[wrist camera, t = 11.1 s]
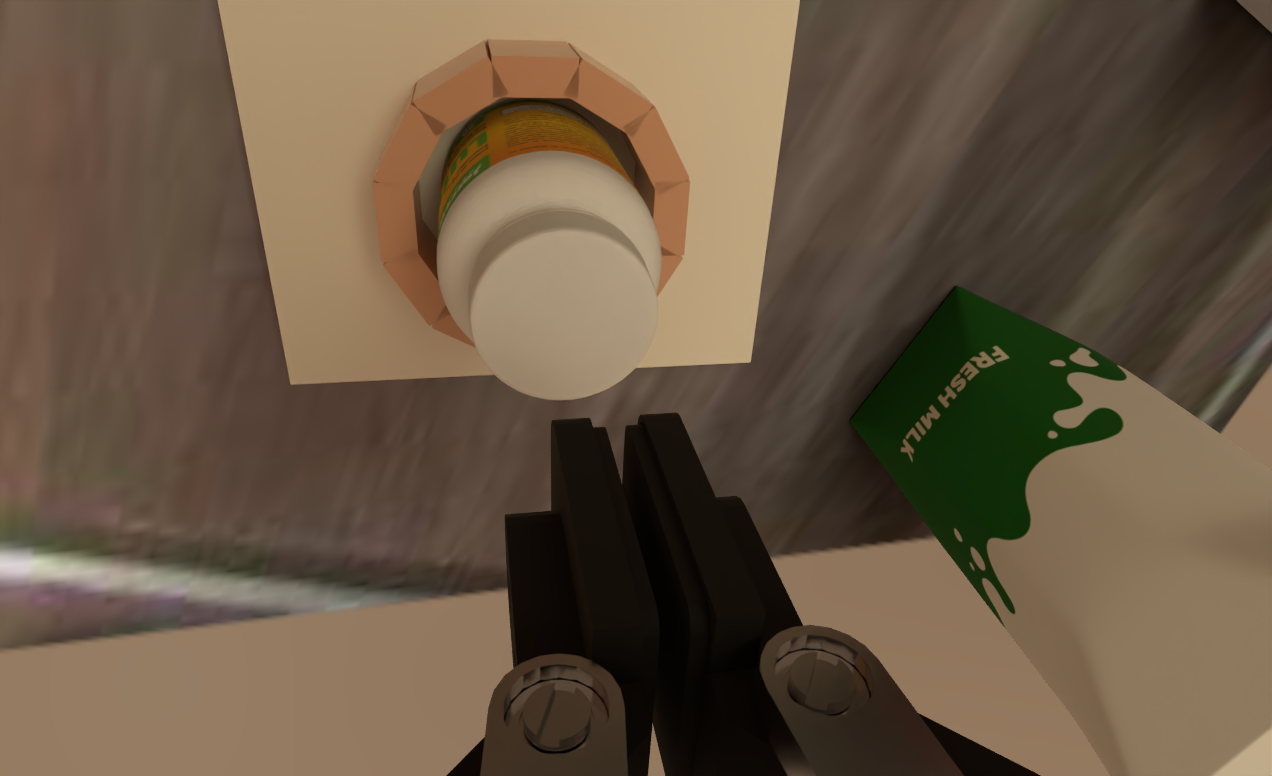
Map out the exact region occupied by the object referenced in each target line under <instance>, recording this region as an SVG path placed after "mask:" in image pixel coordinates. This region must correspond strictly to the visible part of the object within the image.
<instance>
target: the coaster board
mask: <svg viewBox="0 0 1272 776" xmlns="http://www.w3.org/2000/svg"><path fill="white" fill-rule="evenodd" d="M217 1H218V6H219V11H220V16H221V22H222V27H223V32H224V37H225V43H226V48H227V53H228V58H229V64H230V69H231V74H232V79H233V85H234V90H235V95H236V100H237V106H238V111H239V116H240V122H241V127H242V132H243V137H244V143H245V148H246V153H247V158H248V164H249V169H250V174H251V179H252V185H253V190H254V195H255V200H256V206H257V211H258V216H259V221H260V227H261V232H262V237H263V243H264V248H265V253H266V258H267V264H268V269H269V274H270V279H271V285H272V290H273V295H274V300H275V306H276V311H277V316H278V321H279V327H280V332H281V337H282V342H283V348H284V353H285V358H286V364H287V369H288V374H289V379H290V385H294V384H315V383H335V382H356V381H377V380H397V379H418V378H438V377H459V376H479V375H494V374H493V373H492V372H491V371H490V370H489V369H488V367H487V366H486V365H485V363H484V362H483V360H482V359H481V357H480V356H479V354H478V352H477V350H476V348H475V347H473V346H471V345H468V344H466V343H464V342H462V341H459V340H457V339H455V338H453V337H451V336H448V335H446V334H444V333H442V332H439V331H437V330H435V329H433V328H432V325H430V326H429V325H428V324H427V322H426V321H425V320H424V318H423V317H422V316H421V314H420V313H419V312H418V311H417V309H416V308H415V307H414V305H413V304H412V303H411V301H410V300H409V299H408V297H407V296H406V295H405V294H404V292H403V291H402V290H401V288H400V287H399V286H398V284H397V283H396V282H395V280H394V279H393V278H392V277H391V275H390V274H389V273H388V271H387V270H386V269H385V267H384V266H383V263H384V262H382V261H381V252H380V243H379V235H378V226H377V217H376V208H375V200H374V191H373V178H374V175H375V172H376V169H377V165H378V162H379V159H380V156H381V153H382V150H383V148H384V146H385V144H386V142H387V139H388V137H389V135H390V133H391V131H392V129H393V127H394V125H395V123H396V121H397V119H398V117H399V115H400V113H401V111H402V109H403V107H404V105H405V103H406V100H407V98H408V96H409V94H410V92H411V90H412V88H413V86H414V84H415V83H417V80H419V79H420V78H422V77H423V76H425V75H427V74H428V73H430V72H432V71H433V70H435V69H437V68H438V67H440V66H442V65H443V64H445V63H447V62H448V61H450V60H452V59H453V58H455V57H457V56H458V55H460V54H462V53H463V52H465V51H467V50H468V49H470V48H472V47H473V46H475V45H477V44H478V43H480V42H482V41H483V40H484V41H485V42H486V44H487V46H488V39H501V40H537V41H566V42H567V44H568V43H571V44H572V45H574V46H575V47H577V48H578V49H580V50H581V51H583V52H584V53H586V54H588V55H589V56H591V57H592V58H594V59H595V60H597V61H598V62H600V63H601V64H603V65H604V66H606V67H607V68H609V69H610V70H612V71H614V72H615V73H617V74H618V75H620V76H621V77H623V78H624V79H626V80H627V81H629V82H630V83H632V84H633V85H634V86H635V87H636V88H637V89H638V90H639V91H640V92H641V93H642V94H643V95H644V96H645V97H646V98H647V99H648V100H649V101H650V102H651V103H652V104H653V105H654V106H655V107H656V109H657V111H658V113H659V115H660V117H661V119H662V122H663V124H664V126H665V128H666V130H667V132H668V134H669V136H670V138H671V140H672V142H673V144H674V147H675V149H676V151H677V153H678V155H679V157H680V159H681V161H682V163H683V165H684V167H685V169H686V171H687V174H688V176H689V181H690V191H689V203H688V215H687V227H686V239H685V251H684V255H681V256H682V258H683V259H682V261H681V262H680V264H679V265H678V267H677V268H676V270H675V271H674V273H673V274H672V276H671V277H670V279H669V280H668V282H667V283H666V285H665V286H664V288H663V289H662V291H661V292H660V294H659V295H658V297H657V300H658V320H657V327H656V331H655V334H654V337H653V340H652V342H651V345H650V347H649V349H648V351H647V352H646V354H645V356H644V357H643V359H642V360H641V361H640V363H639V364H638V365H637V366H636V368H644V367H664V366H685V365H705V364H726V363H747V362H751V356H752V348H753V341H754V334H755V326H756V319H757V312H758V304H759V297H760V290H761V282H762V275H763V267H764V260H765V253H766V245H767V238H768V231H769V223H770V216H771V209H772V201H773V194H774V187H775V179H776V172H777V165H778V157H779V150H780V143H781V135H782V128H783V121H784V113H785V106H786V98H787V91H788V84H789V76H790V69H791V62H792V54H793V47H794V40H795V32H796V25H797V18H798V10H799V3H800V0H217ZM512 99H517V98H512V97H501V98H500V99H498V100H496V101H495V102H493V103H491V104H489V105H488V106H486V107H484V108H483V109H481V110H479V111H478V112H476V113H474V114H473V115H471V116H469V117H468V118H466V119H464V120H463V121H461V122H459V123H457V124H456V125H454V126H452V127H451V128H449V129H447V130H446V131H444V132H443V133H442V135H441V137H440V139H439V141H438V142H437V144H436V146H435V148H434V150H433V152H432V154H431V156H430V158H429V160H428V162H427V164H426V166H425V168H424V170H423V172H422V174H421V176H420V178H419V186H420V198H421V210H422V219H423V221H424V222H425V223H426V225H427V226H428V228H429V229H430V231H431V232H432V233H433V235H434V236H435V238H436V239H437V238H438V219H439V206H440V193H441V180H442V172H443V167H444V163H445V160H446V156H447V153H448V151H449V149H450V147H451V144H452V143H453V141H454V139H455V137H456V136H457V135H458V133H459V132H460V130H461V129H462V128H463V127H464V126H465V125H466V124H467V123H468V122H469V121H470V120H471V119H472V118H473V117H474V116H476V115H477V114H478V113H480V112H481V111H483V110H485V109H486V108H488V107H490V106H493V105H495V104H497V103H500V102H503V101H507V100H512ZM542 99H547V100H552V101H555V102H558V103H561V104H563V105H566V106H568V107H570V108H572V109H574V110H575V111H577V112H578V113H580V114H582V115H583V116H584V117H586V118H587V119H588V120H589V121H590V122H591V123H592V124H593V125H594V126H595V127H596V128H597V129H598V130H599V132H600V133H601V134H602V135H603V137H604V138H605V139H606V141H607V143H608V144H609V146H610V147H611V149H612V151H613V152H614V154H615V156H616V157H617V159H618V161H619V162H620V164H621V166H622V167H623V169H624V170H625V172H626V173H627V175H628V177H629V178H630V179H631V181H632V183H633V184H634V177H635V160H634V158H633V156H632V154H631V152H630V150H629V148H628V146H627V144H626V142H625V140H624V138H623V136H622V134H621V133H620V131H619V129H618V128H617V127H616V126H614V125H612V124H611V123H609V122H607V121H606V120H604V119H603V118H601V117H599V116H598V115H596V114H595V113H593V112H591V111H590V110H588V109H587V108H585V107H583V106H582V105H580V104H579V103H577V102H575V101H574V100H572V99H571V98H542Z"/></svg>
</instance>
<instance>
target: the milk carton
mask: <svg viewBox="0 0 1272 776" xmlns="http://www.w3.org/2000/svg"><path fill="white" fill-rule="evenodd" d="M850 423H851V424H852V425H853V427H854V428H855V429H856V431H857V432H858V433H859V435H860V436H861V437H862V438H863V440H864V441H865V442H866V444H867V445H868V446H869V448H870V449H871V451H872V452H873V453H874V455H875V456H876V457H877V459H878V460H879V461H880V463H881V464H882V465H883V467H884V468H885V469H886V471H887V472H888V473H889V475H890V476H891V478H892V479H893V480H894V482H895V483H896V484H897V486H898V487H899V488H900V490H901V491H902V492H903V494H904V495H905V496H906V498H907V499H908V500H909V502H910V503H911V504H912V506H913V507H914V508H915V510H916V511H917V512H918V514H919V515H920V516H921V518H922V519H923V520H924V522H925V523H926V524H927V526H928V527H929V528H930V530H931V531H932V532H933V534H934V535H935V536H936V538H937V539H938V540H939V542H940V543H941V545H942V546H943V547H944V548H945V550H946V551H947V552H948V554H949V555H950V556H951V558H952V559H953V560H954V561H955V563H956V564H957V565H958V567H959V568H960V569H961V571H962V572H963V573H964V575H965V576H966V577H967V578H968V580H969V581H970V583H971V584H972V585H973V587H974V588H975V589H976V591H977V592H978V593H979V594H980V596H981V597H982V598H983V600H984V601H985V602H986V604H987V605H988V606H989V608H990V609H991V610H992V612H993V613H994V614H995V615H996V617H997V618H998V619H999V621H1000V622H1001V623H1002V625H1003V626H1004V627H1005V629H1006V630H1007V631H1008V633H1009V634H1010V635H1011V636H1012V638H1013V639H1014V641H1015V642H1016V643H1017V644H1018V646H1019V647H1020V648H1021V650H1022V651H1023V652H1024V654H1025V655H1026V656H1027V658H1028V659H1029V660H1030V662H1031V663H1032V664H1033V665H1034V667H1035V668H1036V669H1037V671H1038V672H1039V673H1040V675H1041V676H1042V677H1043V679H1044V680H1045V681H1046V683H1047V684H1048V685H1049V686H1050V688H1051V689H1052V690H1053V691H1054V693H1055V694H1056V695H1057V697H1058V698H1059V699H1060V700H1061V702H1062V703H1063V704H1064V705H1065V707H1066V708H1067V710H1068V711H1069V712H1070V714H1071V715H1072V717H1073V718H1074V719H1075V721H1076V722H1077V724H1078V725H1079V727H1080V728H1081V730H1082V731H1083V733H1084V734H1085V736H1086V738H1087V739H1088V741H1089V742H1090V744H1091V746H1092V747H1093V749H1094V750H1095V752H1096V754H1097V755H1098V757H1099V758H1100V760H1101V762H1102V763H1103V765H1104V766H1105V768H1106V770H1107V771H1108V773H1109V775H1110V776H1272V469H1270V468H1269V467H1267V466H1266V465H1264V464H1263V463H1261V462H1260V461H1259V460H1257V459H1256V458H1254V457H1253V456H1251V455H1250V454H1249V453H1247V452H1246V451H1244V450H1243V449H1241V448H1240V447H1238V446H1237V445H1236V444H1234V443H1233V442H1231V441H1229V440H1228V439H1227V438H1225V437H1224V436H1223V435H1221V434H1220V433H1218V432H1217V431H1215V430H1214V429H1212V428H1211V427H1209V426H1208V425H1207V424H1205V423H1204V422H1202V421H1201V420H1199V419H1198V418H1196V417H1195V416H1193V415H1192V414H1191V413H1189V412H1188V411H1186V410H1185V409H1183V408H1182V407H1180V406H1179V405H1177V404H1176V403H1175V402H1173V401H1172V400H1170V399H1169V398H1167V397H1166V396H1164V395H1163V394H1161V393H1160V392H1159V391H1157V390H1156V389H1154V388H1153V387H1151V386H1150V385H1148V384H1147V383H1145V382H1144V381H1143V380H1141V379H1140V378H1138V377H1137V376H1135V375H1134V374H1132V373H1131V372H1129V371H1128V370H1126V369H1124V368H1123V367H1121V366H1119V365H1118V364H1116V363H1114V362H1113V361H1111V360H1109V359H1108V358H1106V357H1104V356H1103V355H1101V354H1099V353H1097V352H1096V351H1094V350H1092V349H1090V348H1088V347H1086V346H1084V345H1082V344H1080V343H1078V342H1076V341H1074V340H1072V339H1070V338H1068V337H1066V336H1064V335H1062V334H1059V333H1057V332H1055V331H1053V330H1051V329H1049V328H1046V327H1044V326H1042V325H1040V324H1038V323H1036V322H1033V321H1031V320H1029V319H1027V318H1025V317H1022V316H1020V315H1018V314H1016V313H1014V312H1011V311H1009V310H1007V309H1005V308H1003V307H1000V306H998V305H996V304H994V303H992V302H990V301H988V300H986V299H984V298H982V297H979V296H977V295H975V294H973V293H971V292H969V291H967V290H965V289H963V288H961V287H959V286H956V287H955V289H954V290H953V291H952V292H951V294H950V295H949V296H948V297H947V299H946V300H945V301H944V302H943V304H942V305H941V306H940V307H939V309H938V310H937V311H936V313H935V314H934V315H933V316H932V318H931V319H930V320H929V321H928V323H927V324H926V325H925V326H924V328H923V329H922V330H921V332H920V333H919V334H918V335H917V337H916V338H915V339H914V340H913V342H912V343H911V344H910V345H909V347H908V348H907V349H906V350H905V352H904V353H903V354H902V356H901V357H900V358H899V359H898V361H897V362H896V363H895V364H894V366H893V367H892V368H891V369H890V371H889V372H888V373H887V374H886V376H885V377H884V378H883V380H882V381H881V382H880V383H879V385H878V386H877V387H876V388H875V390H874V391H873V392H872V393H871V395H870V396H869V397H868V399H867V400H866V401H865V402H864V404H863V405H862V406H861V407H860V409H859V410H858V411H857V412H856V414H855V415H854V416H853V418H852V419H851V420H850Z"/></svg>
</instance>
